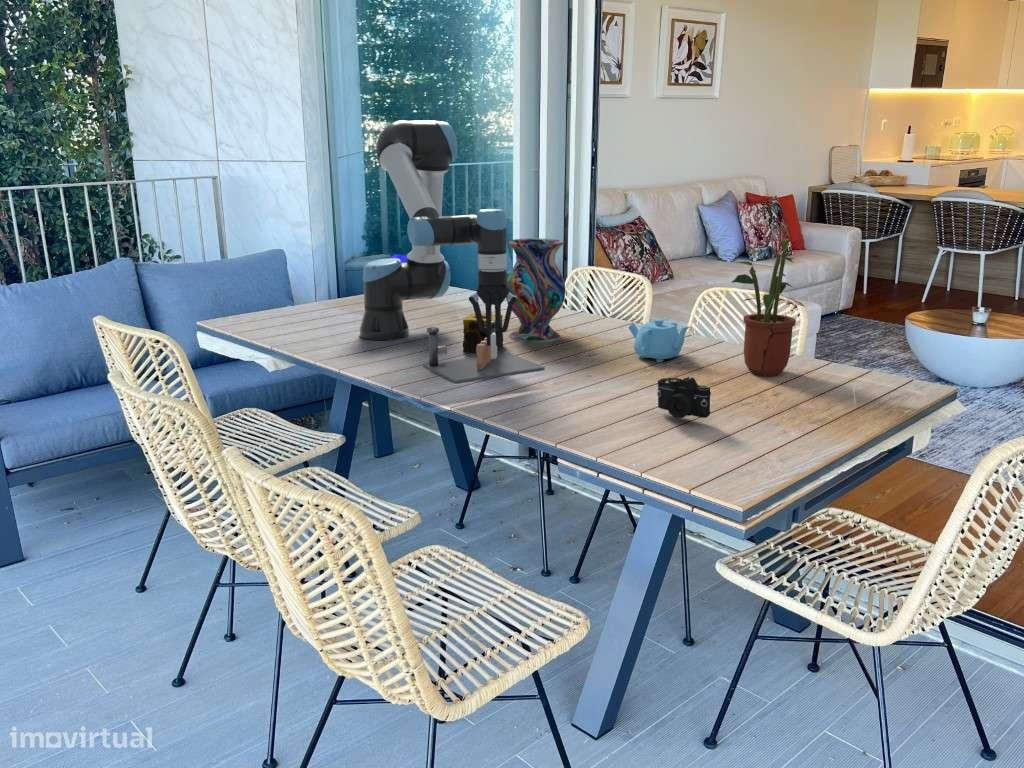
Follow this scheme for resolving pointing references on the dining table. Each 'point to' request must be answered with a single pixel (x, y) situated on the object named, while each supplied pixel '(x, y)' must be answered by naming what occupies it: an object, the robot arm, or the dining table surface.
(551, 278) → the vase
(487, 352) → the gate
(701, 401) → the film camera
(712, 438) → the dining table surface
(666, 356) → the teapot
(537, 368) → the mat
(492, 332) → the glossy grey waisted cylinder
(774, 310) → the potted plant
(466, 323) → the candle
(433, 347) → the latch post
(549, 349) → the dining table surface
